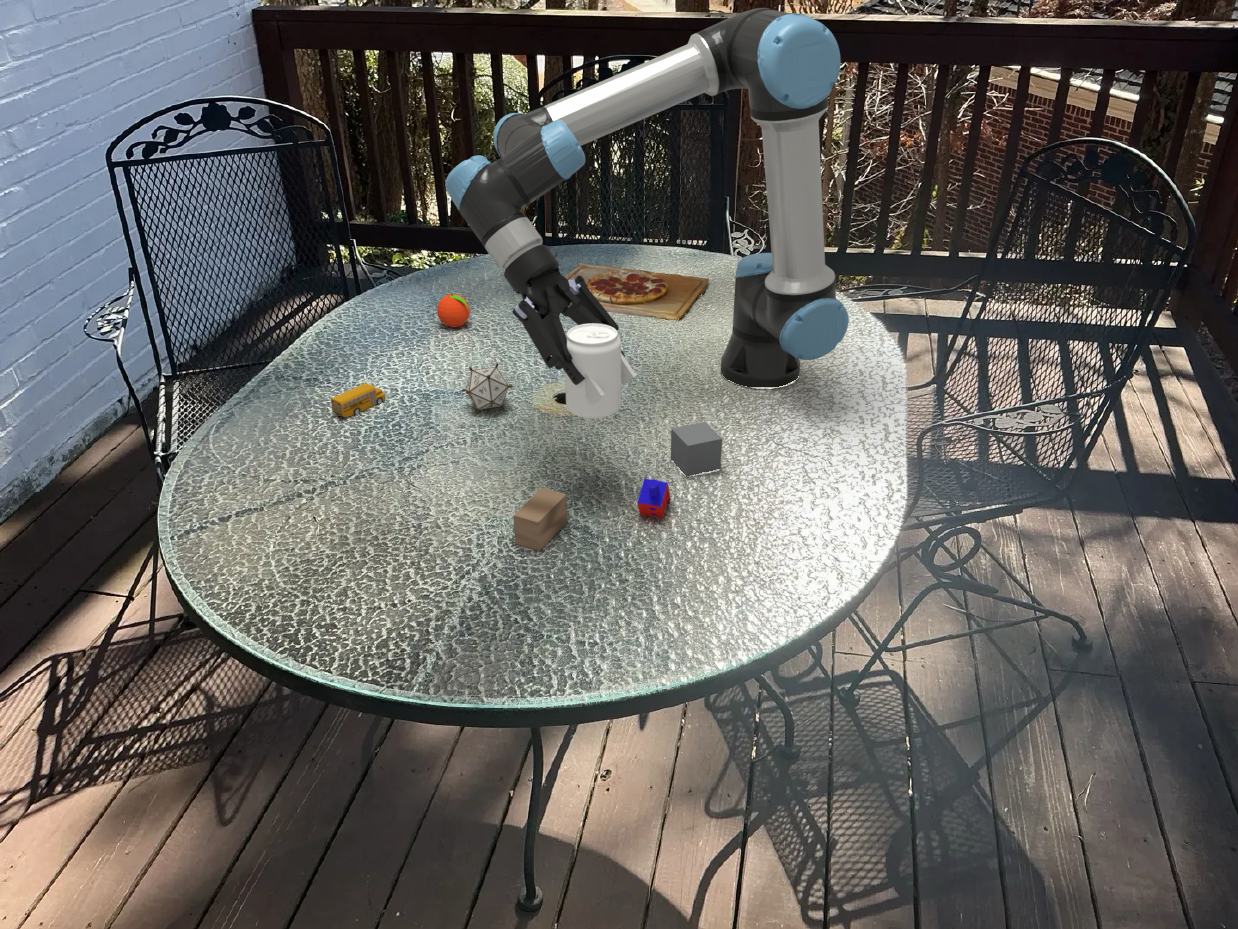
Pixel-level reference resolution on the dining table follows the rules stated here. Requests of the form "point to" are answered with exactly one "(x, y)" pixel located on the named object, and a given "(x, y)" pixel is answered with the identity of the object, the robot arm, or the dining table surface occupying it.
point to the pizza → (640, 290)
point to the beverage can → (594, 369)
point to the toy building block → (653, 498)
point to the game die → (486, 388)
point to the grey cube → (696, 448)
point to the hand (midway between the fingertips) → (614, 389)
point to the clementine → (453, 310)
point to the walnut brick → (540, 519)
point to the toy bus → (357, 400)
